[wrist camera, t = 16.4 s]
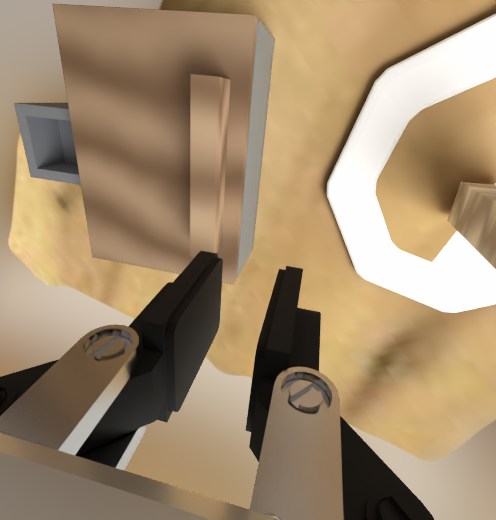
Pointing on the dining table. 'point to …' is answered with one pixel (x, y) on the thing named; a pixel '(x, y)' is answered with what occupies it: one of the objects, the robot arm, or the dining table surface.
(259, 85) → the toolbox
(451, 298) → the plate
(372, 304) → the dining table surface
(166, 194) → the lid
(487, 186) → the rectangular block
